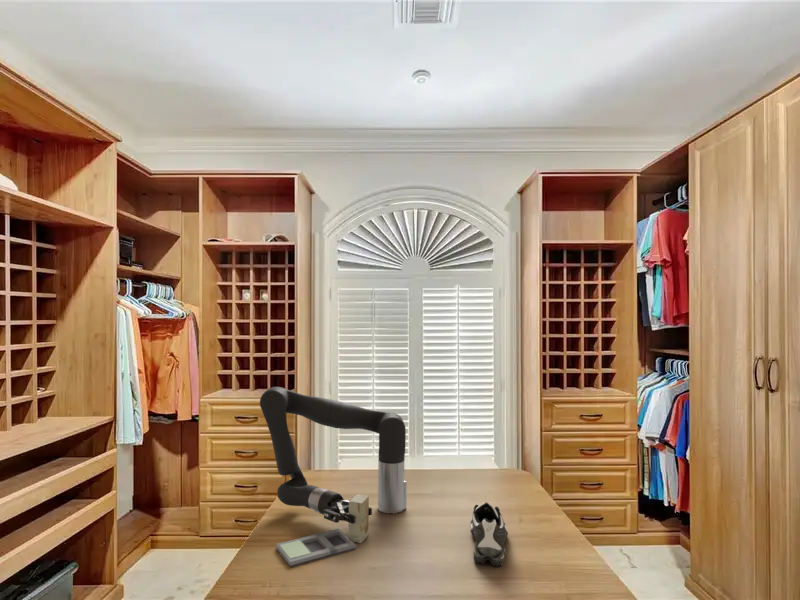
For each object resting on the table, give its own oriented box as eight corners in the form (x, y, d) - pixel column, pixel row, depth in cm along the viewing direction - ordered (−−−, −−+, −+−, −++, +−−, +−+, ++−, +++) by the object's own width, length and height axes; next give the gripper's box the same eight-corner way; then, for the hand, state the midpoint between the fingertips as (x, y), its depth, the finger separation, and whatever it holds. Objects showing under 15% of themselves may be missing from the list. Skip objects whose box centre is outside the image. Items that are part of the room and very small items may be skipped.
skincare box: (361, 543, 151) (361, 503, 151) (348, 541, 153) (348, 501, 152) (369, 534, 157) (369, 495, 157) (356, 531, 159) (356, 493, 158)
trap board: (338, 533, 158) (338, 527, 158) (355, 549, 148) (355, 543, 148) (276, 549, 148) (276, 543, 148) (290, 567, 138) (290, 561, 138)
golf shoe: (502, 523, 167) (503, 481, 167) (517, 571, 137) (517, 519, 137) (467, 522, 167) (467, 480, 168) (474, 569, 138) (474, 518, 138)
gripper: (308, 497, 158) (346, 511, 148) (341, 484, 170) (378, 496, 159) (308, 521, 158) (346, 536, 148) (341, 506, 170) (378, 520, 159)
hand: (362, 515), depth 154 cm, fingers closed on skincare box, 7 cm apart
